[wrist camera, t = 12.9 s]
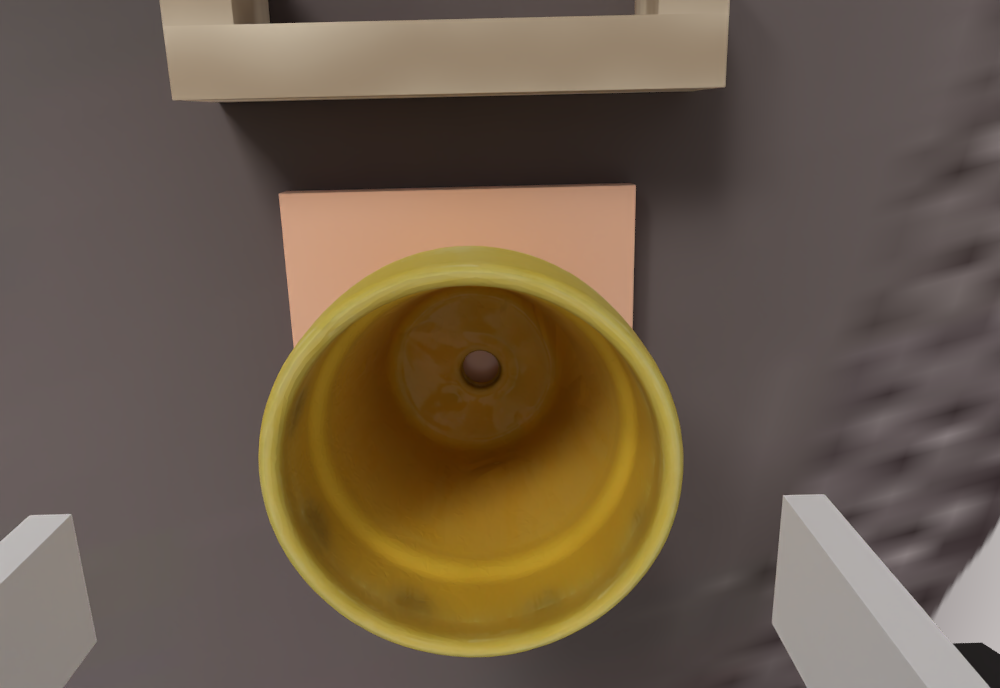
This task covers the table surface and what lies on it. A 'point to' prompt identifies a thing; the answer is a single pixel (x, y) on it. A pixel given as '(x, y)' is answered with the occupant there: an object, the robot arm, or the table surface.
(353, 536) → the plant pot
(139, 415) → the table surface
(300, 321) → the tile
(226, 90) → the flower pot holder
